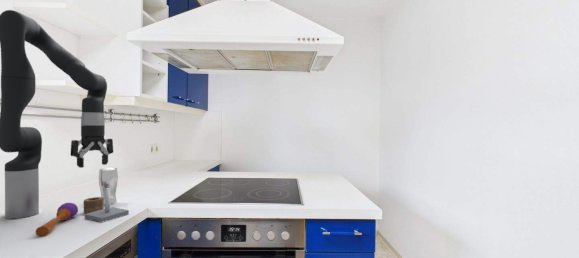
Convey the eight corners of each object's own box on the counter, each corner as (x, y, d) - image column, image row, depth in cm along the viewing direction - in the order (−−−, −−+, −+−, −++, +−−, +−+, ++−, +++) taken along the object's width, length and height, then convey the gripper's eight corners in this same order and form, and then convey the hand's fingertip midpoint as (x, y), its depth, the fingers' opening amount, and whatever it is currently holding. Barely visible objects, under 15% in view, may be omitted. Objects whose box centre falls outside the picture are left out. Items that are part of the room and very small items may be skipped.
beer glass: (117, 204, 120) (116, 169, 119) (97, 206, 116) (97, 170, 116) (118, 200, 126) (118, 167, 126) (100, 202, 123) (99, 168, 122)
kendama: (27, 225, 84) (59, 202, 103) (33, 243, 85) (64, 217, 104) (50, 219, 86) (78, 198, 105) (56, 237, 86) (82, 213, 105)
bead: (81, 212, 108) (80, 200, 108) (97, 208, 113) (97, 196, 113) (90, 215, 105) (90, 201, 105) (106, 210, 111) (106, 198, 111)
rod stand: (84, 218, 102) (84, 189, 101) (112, 210, 111) (112, 184, 111) (101, 222, 97) (101, 192, 97) (128, 214, 106) (128, 186, 106)
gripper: (105, 124, 116) (105, 163, 116) (66, 124, 103) (66, 167, 104) (117, 124, 113) (117, 164, 113) (78, 124, 100) (78, 169, 100)
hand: (93, 165), depth 108 cm, fingers open, 8 cm apart
